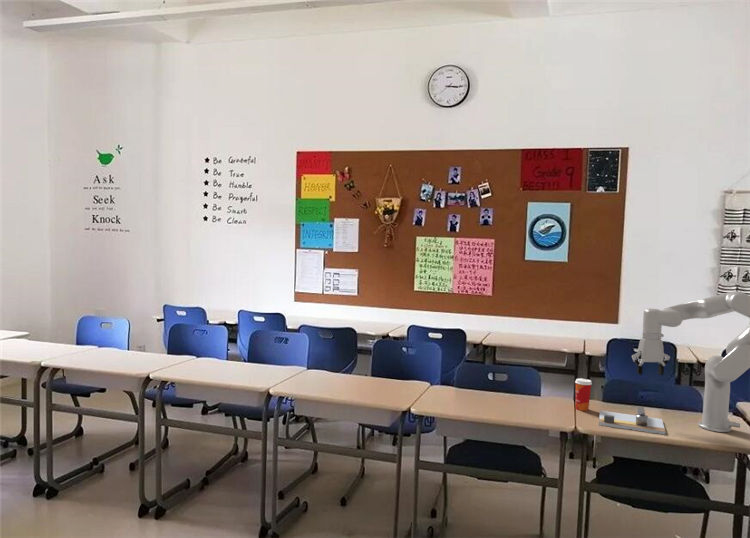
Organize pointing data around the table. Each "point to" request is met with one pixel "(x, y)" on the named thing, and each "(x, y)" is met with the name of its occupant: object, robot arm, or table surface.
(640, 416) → the latch bar
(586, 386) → the paper cup
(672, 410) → the table surface
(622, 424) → the door board
